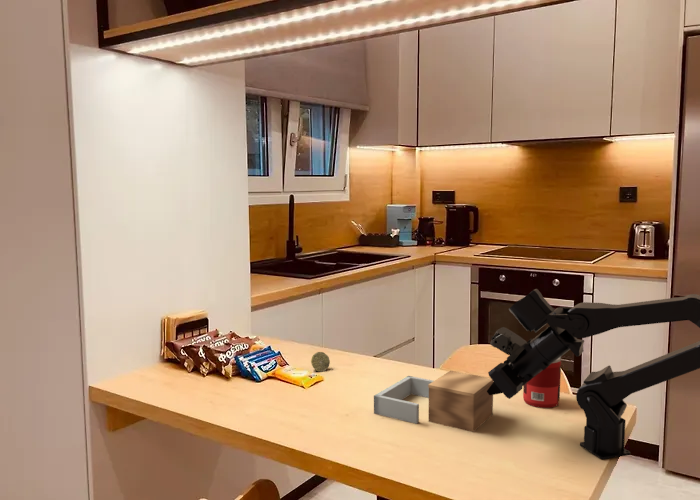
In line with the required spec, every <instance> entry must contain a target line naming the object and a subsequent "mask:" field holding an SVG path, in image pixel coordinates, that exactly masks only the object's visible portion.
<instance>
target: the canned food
mask: <svg viewBox="0 0 700 500" xmlns="http://www.w3.org/2000/svg"><path fill="white" fill-rule="evenodd" d="M561 372H562V356H561V357H560V358H558V359H557V360H556V361H554V362H553V363H552V364H550V365H549V366H548V367H547V368H546V369H544V370H542V371H541V372H540V373H539V374H538V375H536V376H535V377H533V378H532V379H531V380H530V381H529V382H527V383H526V384H525V385H524V386H522V389H523V391H522V392H523V393H522V397H523V401H524V403H525V404H527V405H528V406H532V407H535V408H541V409H550V408H556V407H557V406H558V405H559V403H560V398H561V397H560V396H561V395H560V394H561V393H560V392H561V374H562V373H561Z"/></svg>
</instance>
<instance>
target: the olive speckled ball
mask: <svg viewBox="0 0 700 500" xmlns="http://www.w3.org/2000/svg"><path fill="white" fill-rule="evenodd" d="M330 362H331V361H330V357H329V356H328V354H327V353H326V352H323V351H317V352H315V353H314V354H313V355H312V356H311V360H310V363H311V366H312V368H313V369H314V370H315V371H316V372H324V371H326V370H327V369H328V368H329V367H330V364H331V363H330Z"/></svg>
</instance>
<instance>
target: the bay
mask: <svg viewBox="0 0 700 500" xmlns="http://www.w3.org/2000/svg"><path fill="white" fill-rule="evenodd" d="M433 381H434V380H432V379H427V378H421V377H417V376H411V375H407V376H406V377H403V378H402V379H401V380H399V381H397V382H395V383H394V384H391V385H390V386H388V387H386V388H385V389H383V390H381V391H380V392H378V393H376V394H375V395H373V414H375V415H380V416H383V417H388V418H391V419H396V420H398V421H399V420H400V421H403V422H408V423H412V424H418V423H419V420H420V409H419V408H420V404H419V403H415V402H413V401H412V402H411V401H408V400H404V399H406V398H407V397H409V396H410V395H414V396H419V397H424V398H427V399H429V388H428V385H429V384H430V383H432V382H433Z"/></svg>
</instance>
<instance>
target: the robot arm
mask: <svg viewBox="0 0 700 500" xmlns="http://www.w3.org/2000/svg"><path fill="white" fill-rule="evenodd" d="M508 310H509V312H510V313H511V314H512V315H513V316H514V318H515V319H516V320H517V321H518V322H519V323H520V325H522V327H523V328H524V329H525V330H526V331H527V332H530V333H531V332H532V331H534V333H537V332H538V331H539V330H542V328H543V327H545V326H546V325H548V326H547V327H546V328H545V329H544V330H543V331H541V332H540V333H539V334H538V335H536V336H535V337H534V338H530V339H529V340H528V341H527V340H525V339H524V338H523V337H522V336H520V335H519V334H517V333H515V332H514V331H512V330H510V329H509V328H508V327H504V326H502V327H500V328H499V329H496V330H495V332H494V335H493V336H491V338H490V339H491V340H490V342H489V343H490V346H492V347H493V348H497V349H498V350H499V351H501V352H503V353H505V355H508V356H507V357H506V359H505V360H504V361H503V362H499V363H498V364H496V366H495V367H493V368H491V370H489V371H488V376H489V378H491V379H492V380H493V381H494V382H493V383H492V385H491V386H490V387H489V389H488V390H487V393H488V394H489V395H493V396H494V395H499V394H503V395H504V396H505V397H506V399H509V400H510V399H511V398H513V397H514V396H516V395H517V394H518V393H520V391H522V389H523V386H524V385H525V384H526V383H527V382H529V381H530V380H531V379H532V378H533V377H535V376H536V375H538V374H539V373H540V372H541V371H542V370H544V369H546V368H547V367H548V366H549V365H550V364H552V363H553V362H554V361H556V360H557V359H558V358H560V357H561V358H562V356H564V355H565V354H566V353H568V352H569V351H571V352H572V353H573V355H574V356H576V357H577V358H579V357H580V356H581V355H582V354H583V352H584V345H585V343H584V342H585V340H584V338H585V339H586V338H589V337H593V336H596V335H600V334H602V333H606V332H609V331H612V330H615V329H618V328H625V327H626V328H627V327H635V326H646V325H654V324H655V325H656V324H663V323H664V324H666V323H672V322H673V323H674V322H682V321H683V322H684V321H689V322H691V323H693V325H695V326H697V327H698V328H699V329H700V295H699V294H697V293H695V294H693V293H692V294H690V293H689V294H688V295H684V296H679V297H671V298H670V297H669V298H664V299H655V300H648V301H647V300H646V301H639V302H638V301H637V302H631V303H630V302H629V303H623V304H622V303H620V304H611V303H604V302H586V301H585V302H584V301H583V302H580V303H577V304H575V305H574V306H573V307H557V308H556V309H555V308H554V307H553V306H552V305H551V304H550V303H549V302H548V301H547V300H546V299H545V297H544V296H543V295H542V292H540V291H539V289H538V288H535V289H532V291H530V292H529V293H528V294H526V295H525V296H524V297H522V298H521V299H519V300H517V301H516V302H515V303H513V304H512V305H511V306H510V307H509V308H508ZM699 369H700V340H698V341H697V342H694V343H691V344H689V345H686V346H683V347H681V348H679V349H676V350H674V351H671V352H668V353H666V354H664V355H661V356H659V357H656V358H653V359H651V360H649V361H646V362H643V363H641V364H639V365H636V366H633V367H630V368H628V369H626V370H621V371H613V369H612V367H611V365H609V364H608V365H607V366H606V367H604V368H602V369H601V370H598V371H591V372H590V373H589V374H588V376H587V377H586V378H585V379H584V380H583V383H582V384H581V386H580V387H579V388H578V390H577V391H576V395H575V397H576V400H575V401H576V402H577V405H578V406H579V408H580V409H581V410H582V411H583V412H584V415H585V417H586V422H585V423H586V424H585V425H584V429H583V430H584V431H583V441H579V446H580V447H582V448H583V449H585V450H586V451H588V452H590V453H591V454H592V455H594V456H595V457H596V458H599V459H600V460H606V459H613V458H619V457H624V456H625V457H626V456H630V455H631V451H630V450H627V449H626V448H625V437H626V419H625V418H623V417H622V416H623V414H624V413H625V410H626V408H627V407H628V404H627V403H626V402H625V401H624V400H625V399H626V398H627V397H629V396H630V395H632V394H635V393H637V392H641V391H642V390H643V391H644V390H646V389H648V388H651V387H653V386H656V385H659V384H662V383H664V382H667V381H670V380H672V379H675V378H677V377H680V376H683V375H687V374H689V373H690V372H694V371H696V370H699Z"/></svg>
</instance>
